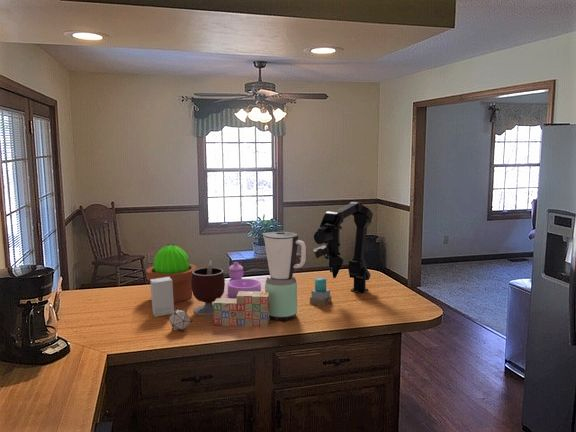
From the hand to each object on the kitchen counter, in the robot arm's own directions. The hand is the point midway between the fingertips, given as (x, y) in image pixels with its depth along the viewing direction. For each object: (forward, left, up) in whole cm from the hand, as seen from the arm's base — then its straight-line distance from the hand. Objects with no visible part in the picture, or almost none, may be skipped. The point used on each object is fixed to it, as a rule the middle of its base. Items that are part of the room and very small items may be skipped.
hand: (332, 274), depth 217 cm
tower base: (+3, -4, -13) cm, 14 cm away
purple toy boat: (+12, -42, -13) cm, 46 cm away
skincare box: (+51, -52, -13) cm, 74 cm away
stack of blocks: (+42, -18, -13) cm, 47 cm away
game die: (+60, -33, -13) cm, 70 cm away
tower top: (+3, -4, -10) cm, 11 cm away
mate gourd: (+37, -39, -13) cm, 56 cm away
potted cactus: (+33, -65, -13) cm, 75 cm away
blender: (+27, -8, -13) cm, 31 cm away
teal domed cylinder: (+3, -4, -7) cm, 9 cm away
